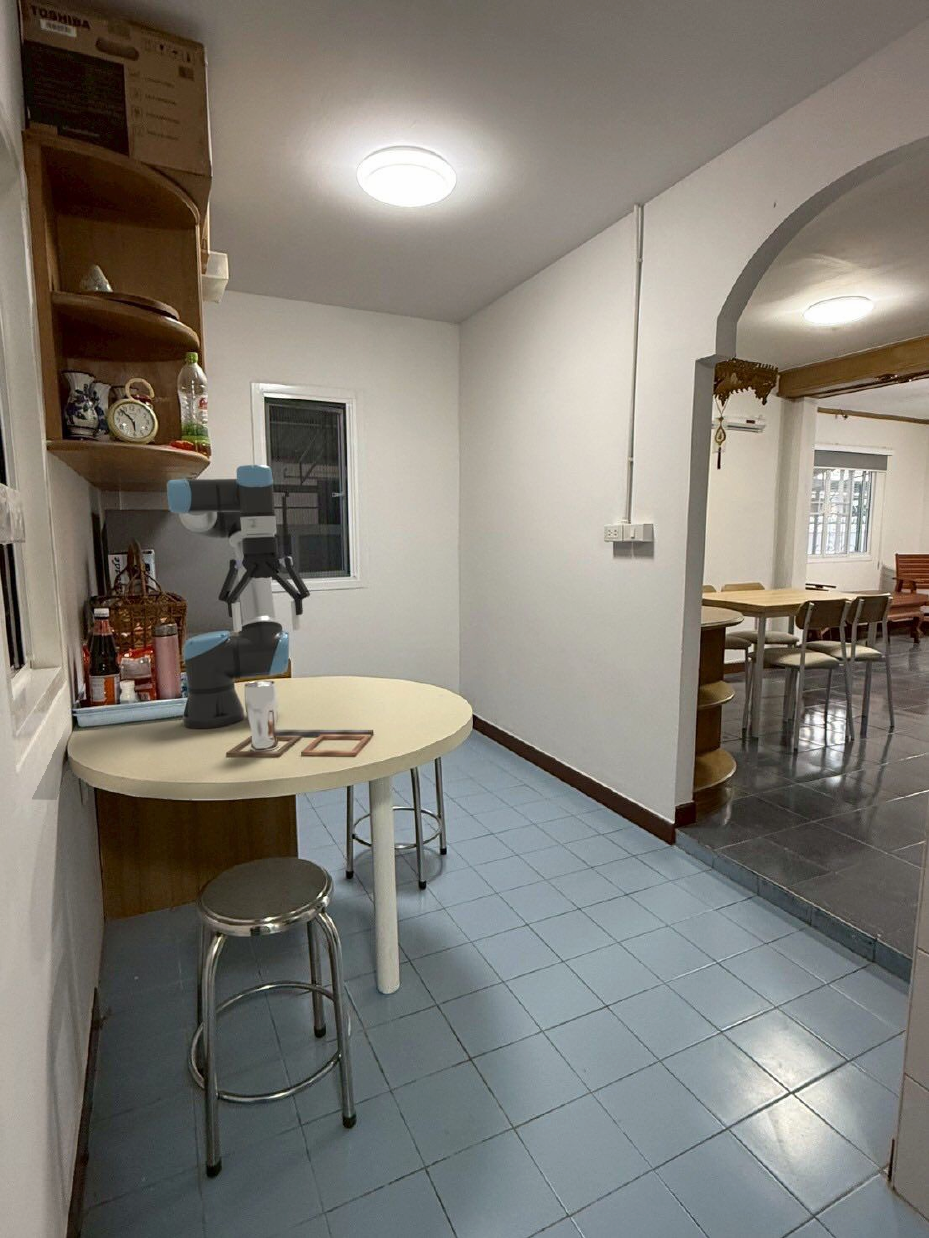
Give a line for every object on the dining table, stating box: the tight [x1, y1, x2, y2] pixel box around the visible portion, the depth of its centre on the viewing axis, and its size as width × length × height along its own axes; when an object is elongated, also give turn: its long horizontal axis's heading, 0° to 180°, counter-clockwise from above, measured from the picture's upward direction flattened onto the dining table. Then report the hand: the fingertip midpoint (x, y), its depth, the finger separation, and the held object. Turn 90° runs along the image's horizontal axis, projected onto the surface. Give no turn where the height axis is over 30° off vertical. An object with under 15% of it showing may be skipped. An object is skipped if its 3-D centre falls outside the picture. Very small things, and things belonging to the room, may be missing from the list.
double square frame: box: [225, 729, 374, 758], centre depth 151 cm, size 29×16×1 cm, turn 82°
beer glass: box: [244, 679, 280, 752], centre depth 149 cm, size 7×7×15 cm
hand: (267, 630), depth 149 cm, fingers open, 13 cm apart
